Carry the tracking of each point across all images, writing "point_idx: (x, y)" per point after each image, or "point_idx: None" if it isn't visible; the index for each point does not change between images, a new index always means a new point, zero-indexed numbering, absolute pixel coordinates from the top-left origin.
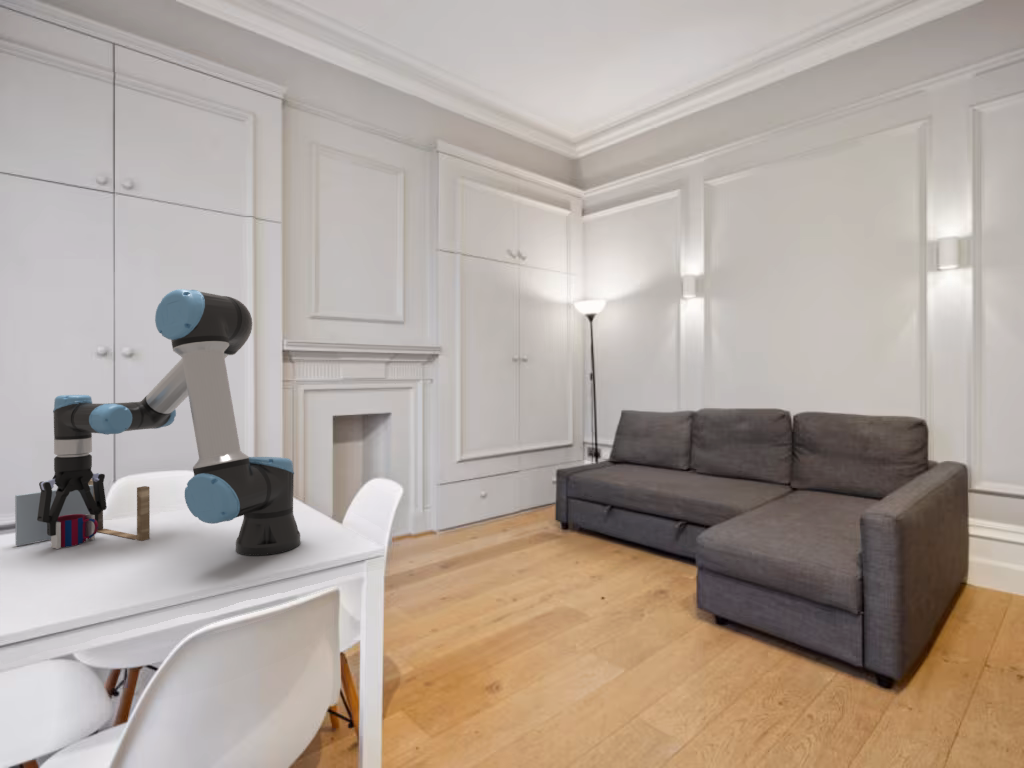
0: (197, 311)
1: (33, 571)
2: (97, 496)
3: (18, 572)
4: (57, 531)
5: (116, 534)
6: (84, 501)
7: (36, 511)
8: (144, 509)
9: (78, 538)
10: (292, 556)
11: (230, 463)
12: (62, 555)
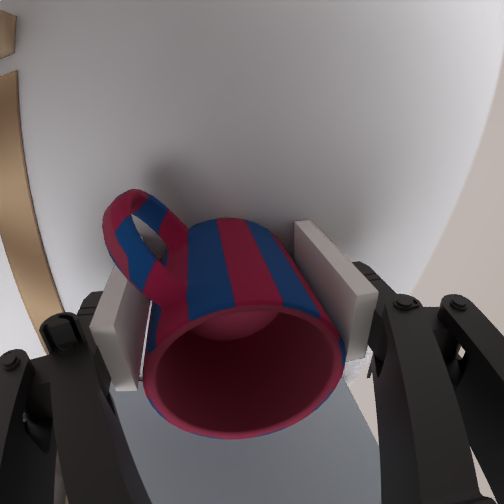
0: None
1: (466, 15)
2: (29, 486)
3: (486, 55)
4: (348, 260)
5: (32, 241)
6: (142, 482)
7: (329, 488)
8: None
9: (215, 231)
10: None
11: None
12: (345, 93)
